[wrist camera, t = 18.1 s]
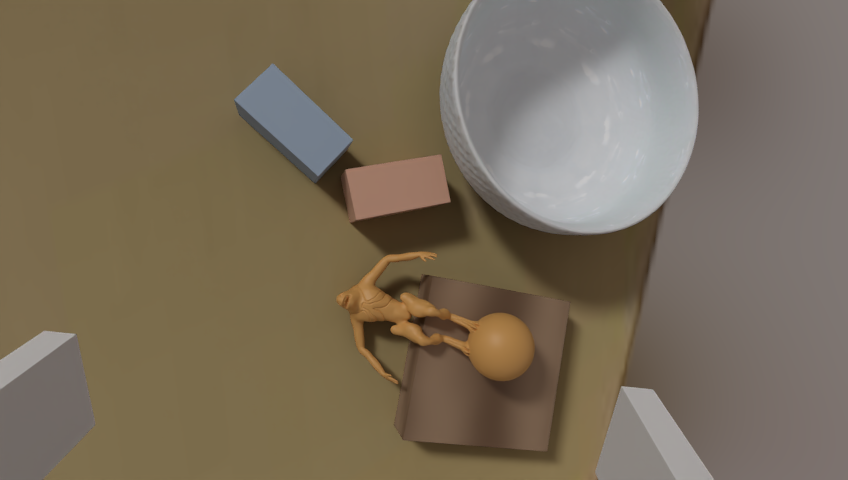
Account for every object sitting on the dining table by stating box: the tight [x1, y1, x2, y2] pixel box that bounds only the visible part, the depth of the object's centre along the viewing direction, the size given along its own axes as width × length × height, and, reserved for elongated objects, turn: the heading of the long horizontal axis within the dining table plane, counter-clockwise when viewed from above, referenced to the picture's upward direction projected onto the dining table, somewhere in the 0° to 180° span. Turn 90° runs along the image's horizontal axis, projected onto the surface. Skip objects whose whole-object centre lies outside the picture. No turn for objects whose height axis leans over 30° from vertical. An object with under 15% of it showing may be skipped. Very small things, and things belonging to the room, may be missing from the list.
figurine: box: [337, 252, 535, 384], centre depth 27 cm, size 8×6×12 cm
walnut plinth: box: [394, 274, 570, 451], centre depth 30 cm, size 10×10×3 cm
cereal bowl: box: [439, 0, 699, 235], centre depth 29 cm, size 17×17×7 cm
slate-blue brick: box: [234, 64, 353, 183], centre depth 27 cm, size 6×3×3 cm, turn 49°
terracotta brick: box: [341, 155, 451, 223], centre depth 28 cm, size 6×3×3 cm, turn 102°
